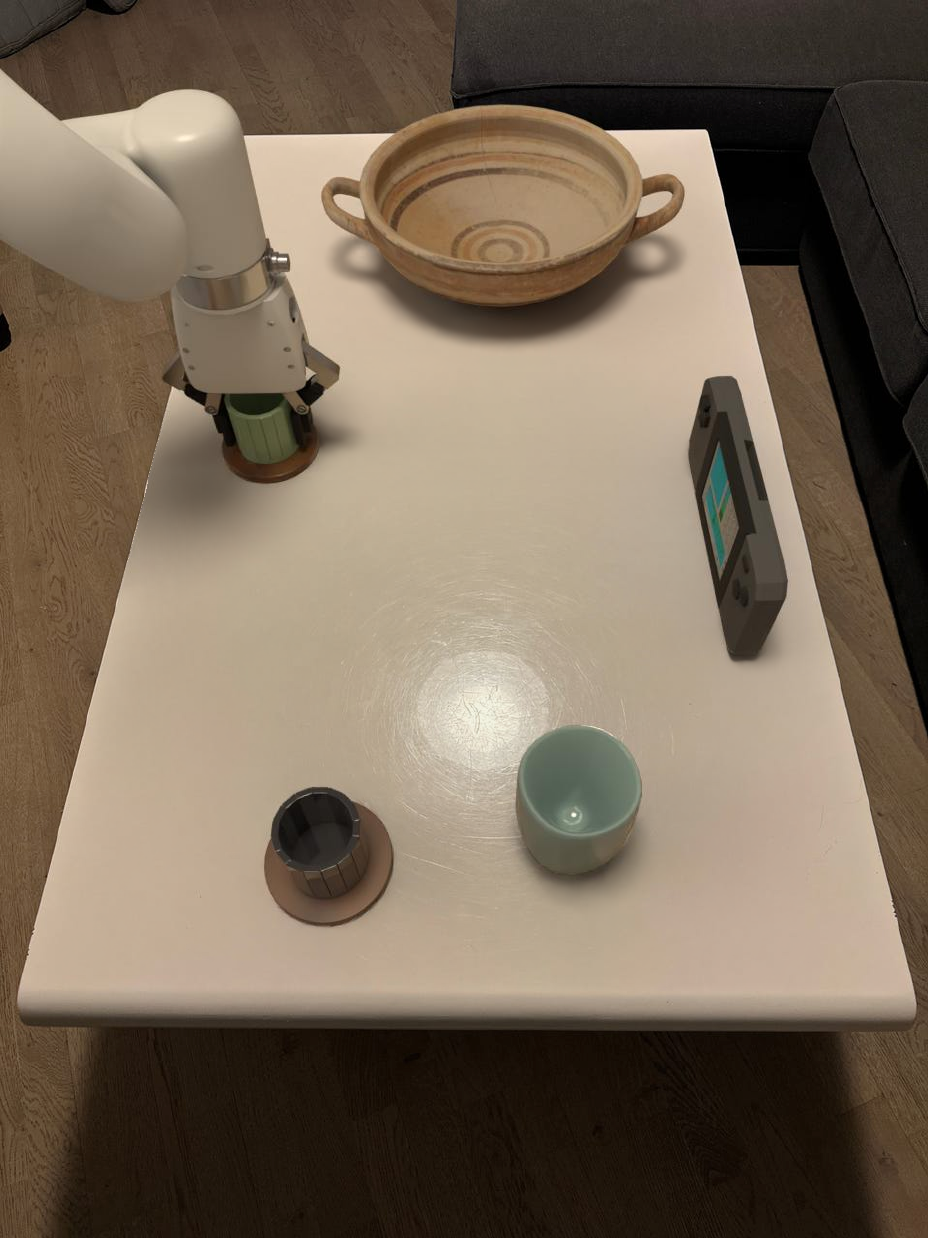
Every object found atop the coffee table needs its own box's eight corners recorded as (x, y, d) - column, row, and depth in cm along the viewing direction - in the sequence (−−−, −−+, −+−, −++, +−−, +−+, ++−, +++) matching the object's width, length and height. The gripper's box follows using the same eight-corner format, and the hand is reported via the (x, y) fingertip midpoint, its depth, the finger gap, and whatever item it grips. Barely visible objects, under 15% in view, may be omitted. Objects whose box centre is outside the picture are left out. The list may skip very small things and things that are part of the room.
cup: (497, 805, 69) (499, 746, 60) (594, 770, 70) (609, 707, 62) (539, 905, 65) (547, 856, 56) (641, 865, 66) (664, 812, 58)
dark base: (258, 926, 64) (256, 923, 64) (274, 802, 69) (272, 798, 69) (389, 926, 64) (388, 923, 63) (396, 802, 69) (395, 798, 68)
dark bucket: (282, 899, 65) (265, 872, 60) (293, 803, 68) (278, 770, 63) (366, 899, 64) (356, 872, 60) (372, 803, 68) (364, 770, 63)
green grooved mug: (234, 464, 87) (219, 418, 82) (244, 410, 90) (231, 363, 86) (297, 464, 86) (286, 418, 82) (305, 410, 90) (294, 363, 85)
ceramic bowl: (657, 186, 111) (672, 100, 102) (685, 352, 95) (705, 266, 86) (343, 189, 111) (331, 104, 103) (319, 353, 96) (303, 269, 87)
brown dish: (216, 483, 86) (214, 477, 86) (230, 413, 91) (229, 407, 91) (314, 483, 86) (313, 477, 86) (323, 412, 91) (322, 406, 90)
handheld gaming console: (681, 450, 88) (702, 367, 79) (711, 449, 88) (735, 366, 79) (724, 662, 75) (754, 591, 67) (759, 661, 75) (793, 590, 67)
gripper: (338, 237, 74) (363, 406, 89) (121, 240, 75) (183, 407, 90) (330, 299, 70) (357, 465, 85) (101, 301, 71) (169, 466, 86)
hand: (267, 434), depth 87 cm, fingers closed on green grooved mug, 5 cm apart
